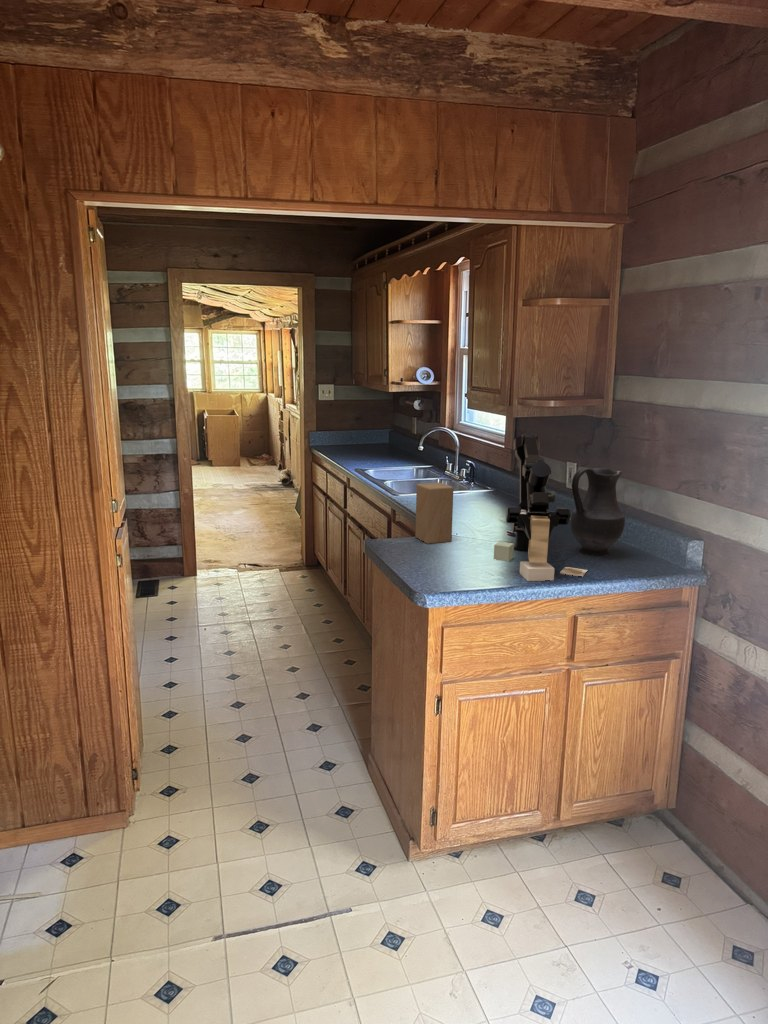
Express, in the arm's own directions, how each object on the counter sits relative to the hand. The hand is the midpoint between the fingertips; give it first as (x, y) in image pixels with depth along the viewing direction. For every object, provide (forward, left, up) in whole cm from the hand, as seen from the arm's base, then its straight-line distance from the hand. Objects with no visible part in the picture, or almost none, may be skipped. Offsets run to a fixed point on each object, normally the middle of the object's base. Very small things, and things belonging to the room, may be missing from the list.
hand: (539, 539), depth 213 cm
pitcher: (-36, +8, -12) cm, 39 cm away
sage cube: (-15, -15, -12) cm, 25 cm away
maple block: (-1, -1, -7) cm, 7 cm away
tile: (-11, +8, -12) cm, 18 cm away
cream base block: (-1, -1, -12) cm, 12 cm away
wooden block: (-26, -46, -12) cm, 54 cm away
